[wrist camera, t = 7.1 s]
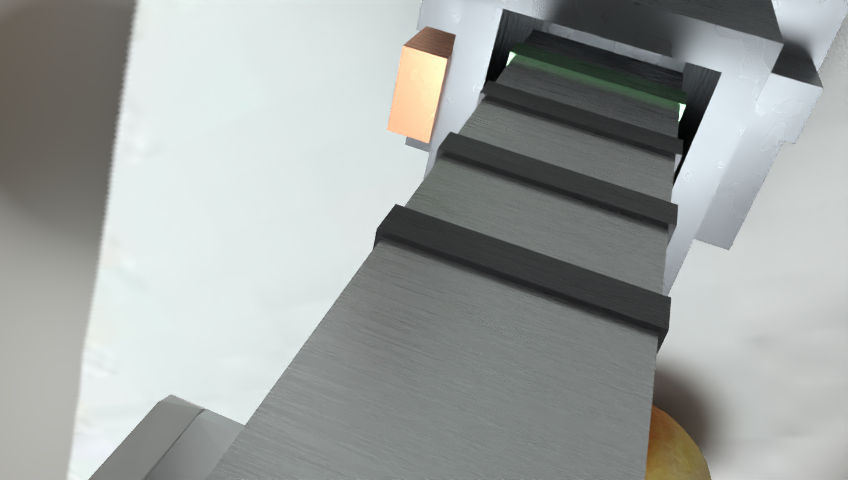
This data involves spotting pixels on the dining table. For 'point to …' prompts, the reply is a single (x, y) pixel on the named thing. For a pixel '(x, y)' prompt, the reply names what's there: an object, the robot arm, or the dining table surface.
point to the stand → (654, 43)
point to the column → (500, 295)
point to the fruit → (672, 451)
